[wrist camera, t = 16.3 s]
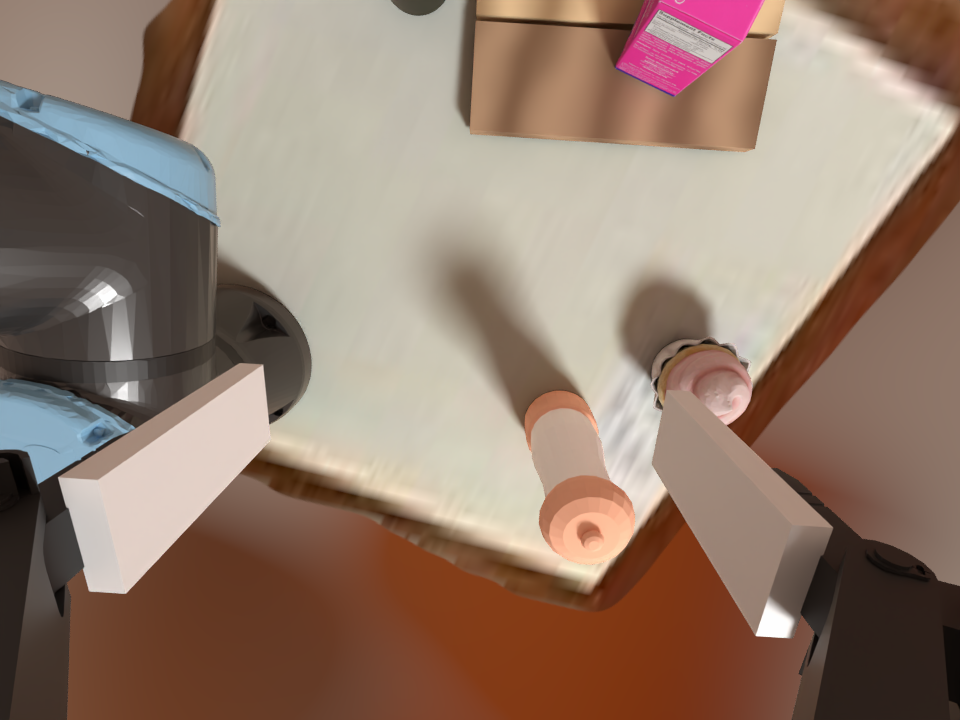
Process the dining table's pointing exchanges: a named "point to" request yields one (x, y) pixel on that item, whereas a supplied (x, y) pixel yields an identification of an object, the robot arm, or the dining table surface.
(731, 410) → the cupcake
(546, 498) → the peach and white cylinder
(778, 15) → the laid plank
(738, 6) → the supplement box
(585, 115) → the board
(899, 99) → the dining table surface
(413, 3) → the wine bottle
